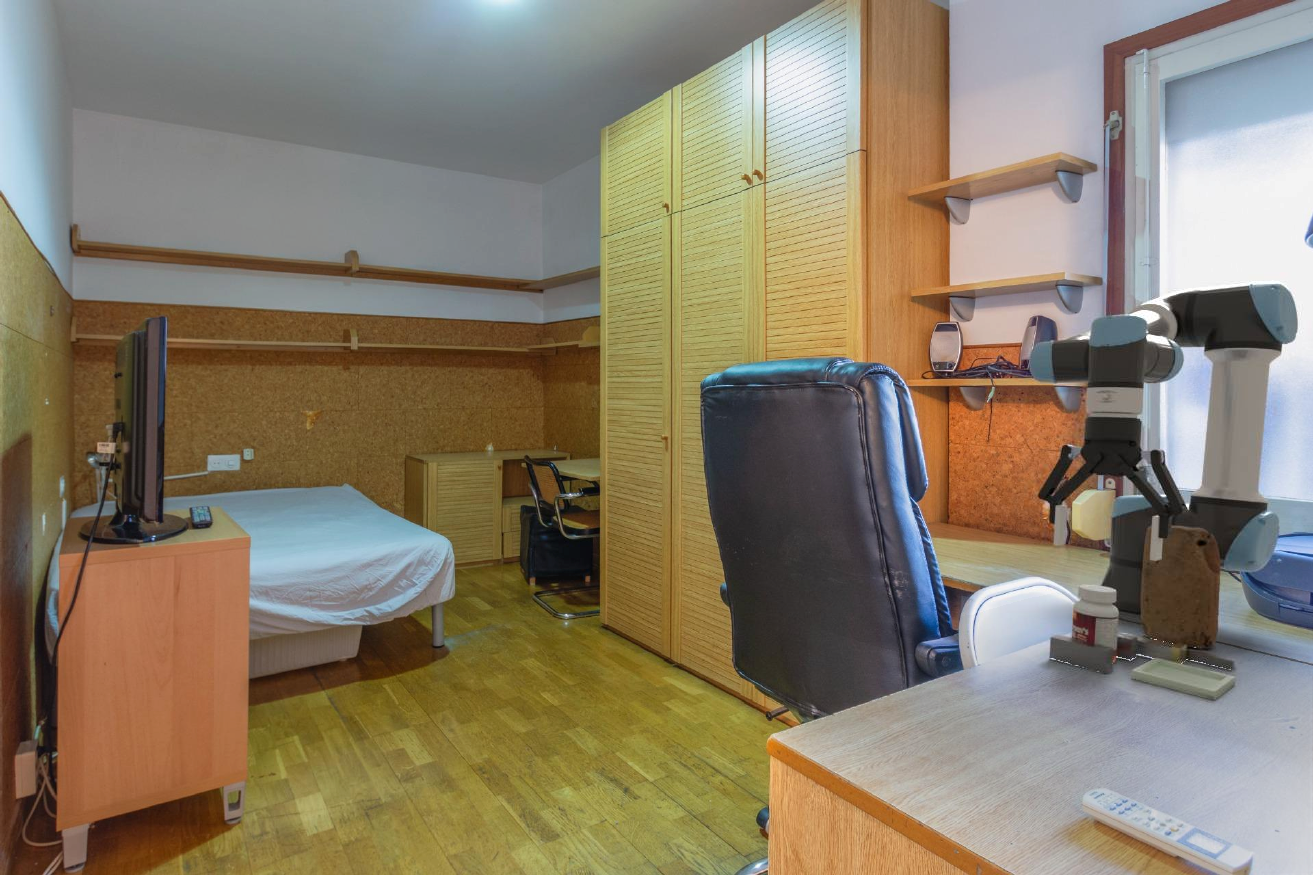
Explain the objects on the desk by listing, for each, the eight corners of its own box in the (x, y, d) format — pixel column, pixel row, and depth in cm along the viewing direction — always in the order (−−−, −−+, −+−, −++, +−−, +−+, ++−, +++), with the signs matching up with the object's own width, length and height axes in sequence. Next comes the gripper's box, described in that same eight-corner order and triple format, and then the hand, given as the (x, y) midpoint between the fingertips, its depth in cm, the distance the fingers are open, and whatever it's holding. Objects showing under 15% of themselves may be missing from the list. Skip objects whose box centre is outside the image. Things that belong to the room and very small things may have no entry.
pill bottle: (1062, 652, 121) (1065, 583, 120) (1098, 652, 121) (1101, 583, 121) (1087, 665, 114) (1091, 592, 114) (1125, 665, 115) (1129, 592, 115)
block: (1134, 638, 130) (1140, 523, 130) (1149, 630, 135) (1155, 521, 134) (1209, 654, 122) (1217, 533, 121) (1222, 646, 127) (1229, 529, 126)
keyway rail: (1125, 643, 126) (1125, 635, 126) (1234, 669, 115) (1234, 659, 115) (1122, 645, 126) (1123, 636, 126) (1232, 670, 114) (1232, 661, 114)
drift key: (1121, 646, 125) (1122, 630, 125) (1185, 661, 118) (1186, 644, 118) (1114, 650, 122) (1115, 633, 122) (1178, 666, 116) (1179, 648, 115)
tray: (1155, 665, 116) (1155, 657, 115) (1234, 684, 108) (1235, 676, 108) (1131, 678, 109) (1131, 670, 109) (1214, 700, 101) (1214, 691, 101)
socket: (1082, 645, 125) (1083, 624, 125) (1136, 658, 119) (1137, 636, 119) (1049, 659, 117) (1050, 637, 117) (1105, 674, 111) (1106, 650, 111)
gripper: (1020, 413, 123) (1013, 541, 124) (1203, 417, 104) (1193, 569, 105) (1040, 414, 128) (1033, 537, 129) (1217, 419, 109) (1208, 563, 110)
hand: (1105, 552), depth 117 cm, fingers open, 13 cm apart
